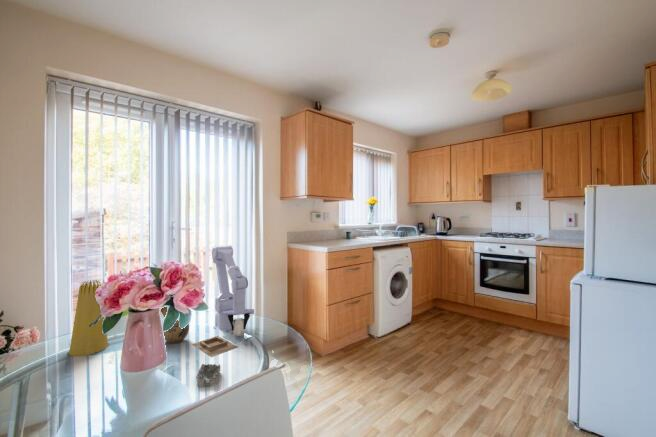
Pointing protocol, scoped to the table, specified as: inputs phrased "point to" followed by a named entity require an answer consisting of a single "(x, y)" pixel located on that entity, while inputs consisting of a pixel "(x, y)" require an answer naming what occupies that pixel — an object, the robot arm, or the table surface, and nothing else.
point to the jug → (238, 327)
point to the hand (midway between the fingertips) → (238, 329)
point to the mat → (234, 338)
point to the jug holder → (214, 346)
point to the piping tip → (87, 323)
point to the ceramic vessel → (175, 331)
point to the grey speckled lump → (208, 375)
